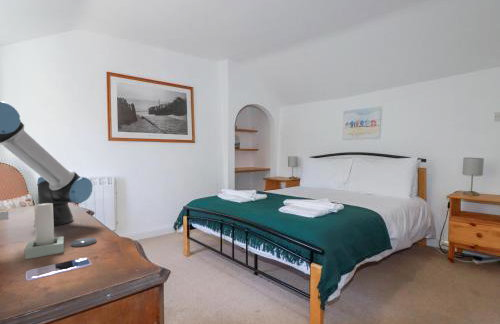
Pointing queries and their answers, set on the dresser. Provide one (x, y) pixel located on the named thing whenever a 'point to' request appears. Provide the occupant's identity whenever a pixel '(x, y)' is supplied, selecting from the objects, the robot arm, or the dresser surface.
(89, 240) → the coaster
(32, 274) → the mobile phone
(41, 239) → the grey tall block
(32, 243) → the holder
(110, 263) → the dresser surface
